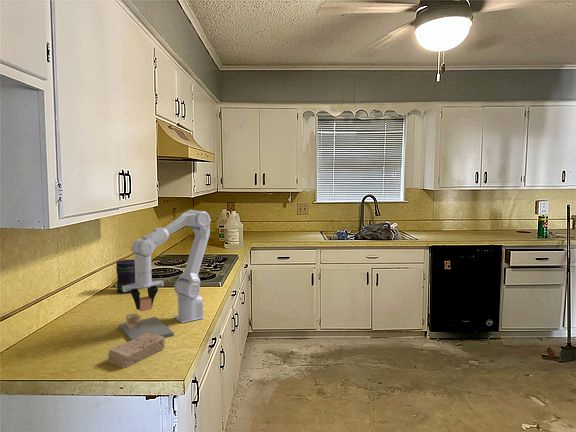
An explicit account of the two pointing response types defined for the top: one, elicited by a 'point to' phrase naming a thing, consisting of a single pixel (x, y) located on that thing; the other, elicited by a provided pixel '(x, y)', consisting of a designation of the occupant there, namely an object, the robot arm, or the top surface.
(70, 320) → the top surface
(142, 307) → the terracotta block
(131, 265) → the storage jar
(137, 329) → the plate
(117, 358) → the brick
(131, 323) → the maple block
